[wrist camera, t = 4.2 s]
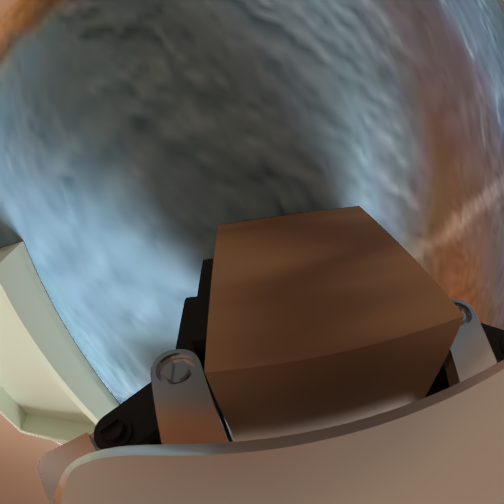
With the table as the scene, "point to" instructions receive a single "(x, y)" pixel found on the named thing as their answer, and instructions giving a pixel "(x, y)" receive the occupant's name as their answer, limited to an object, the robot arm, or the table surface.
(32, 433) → the parts tray
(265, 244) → the walnut block
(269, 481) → the robot arm
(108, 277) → the table surface
